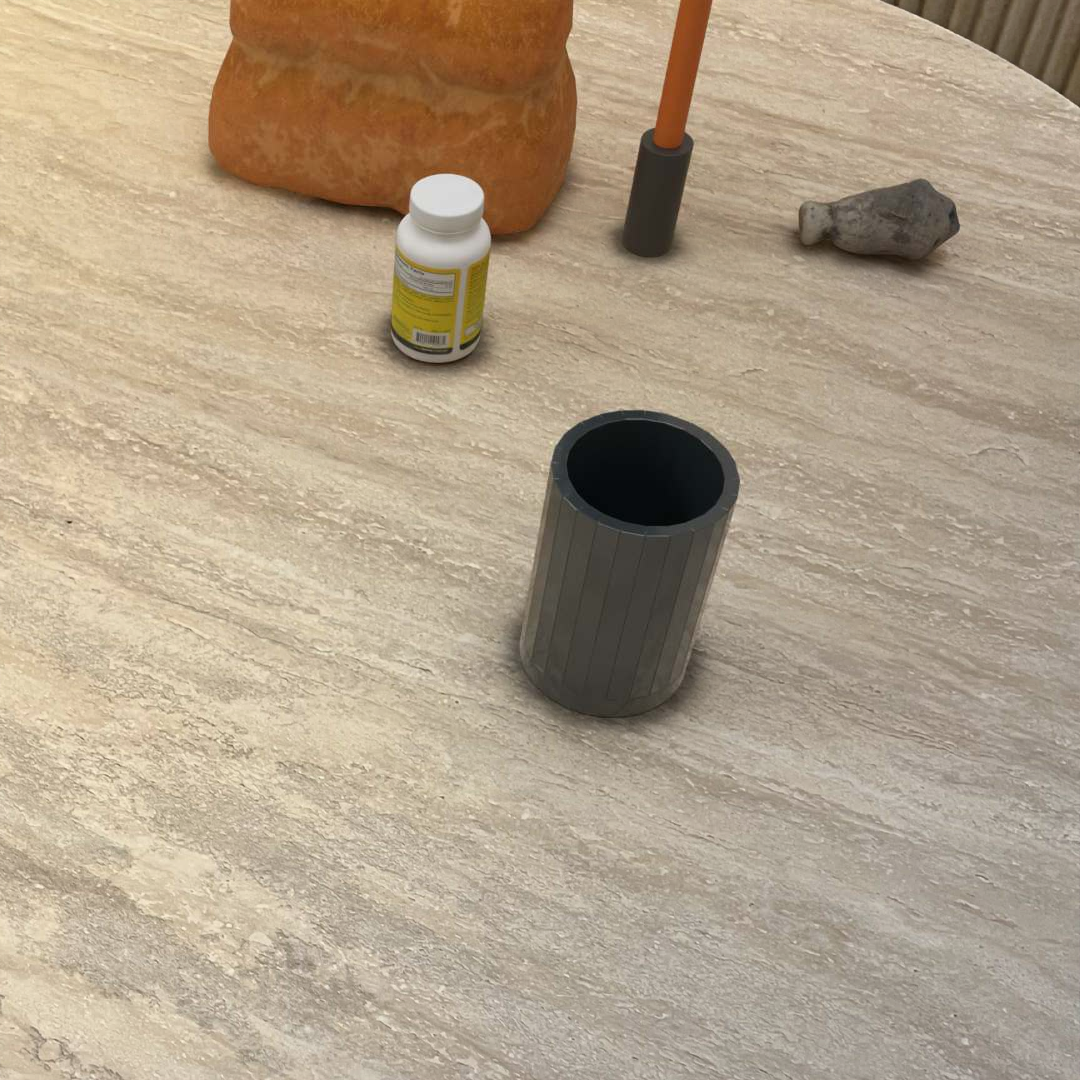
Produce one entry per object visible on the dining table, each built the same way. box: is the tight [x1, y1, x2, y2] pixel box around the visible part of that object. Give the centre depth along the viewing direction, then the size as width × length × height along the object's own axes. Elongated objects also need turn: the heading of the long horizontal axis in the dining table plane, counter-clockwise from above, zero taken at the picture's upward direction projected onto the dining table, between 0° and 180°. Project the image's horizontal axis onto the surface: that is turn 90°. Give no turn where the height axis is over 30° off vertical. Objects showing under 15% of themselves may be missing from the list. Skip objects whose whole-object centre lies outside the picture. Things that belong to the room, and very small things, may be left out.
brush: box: [621, 0, 713, 258], centre depth 115 cm, size 4×4×20 cm
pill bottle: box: [390, 174, 492, 364], centre depth 111 cm, size 6×6×11 cm
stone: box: [798, 177, 961, 261], centre depth 120 cm, size 10×5×8 cm
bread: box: [207, 0, 578, 236], centre depth 122 cm, size 16×26×17 cm, turn 70°
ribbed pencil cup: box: [518, 409, 741, 718], centre depth 93 cm, size 10×10×14 cm
